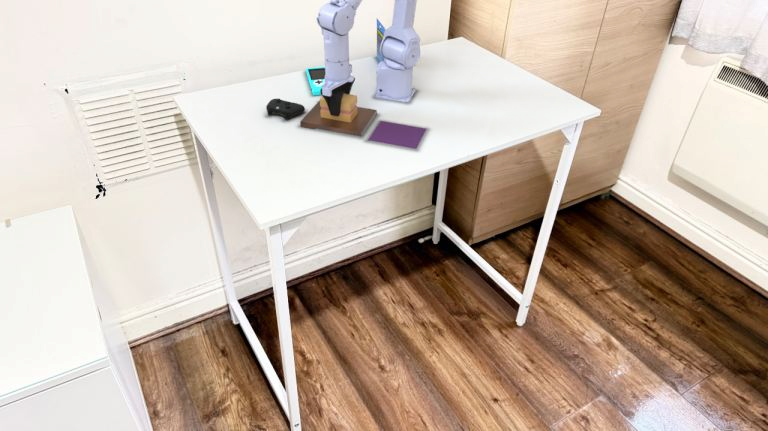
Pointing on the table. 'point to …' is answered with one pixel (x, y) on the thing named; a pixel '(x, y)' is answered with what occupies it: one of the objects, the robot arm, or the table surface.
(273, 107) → the gaming controller
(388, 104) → the table surface
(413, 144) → the felt cloth
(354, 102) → the sandwich
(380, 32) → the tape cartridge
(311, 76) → the handheld game console
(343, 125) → the cutting board
